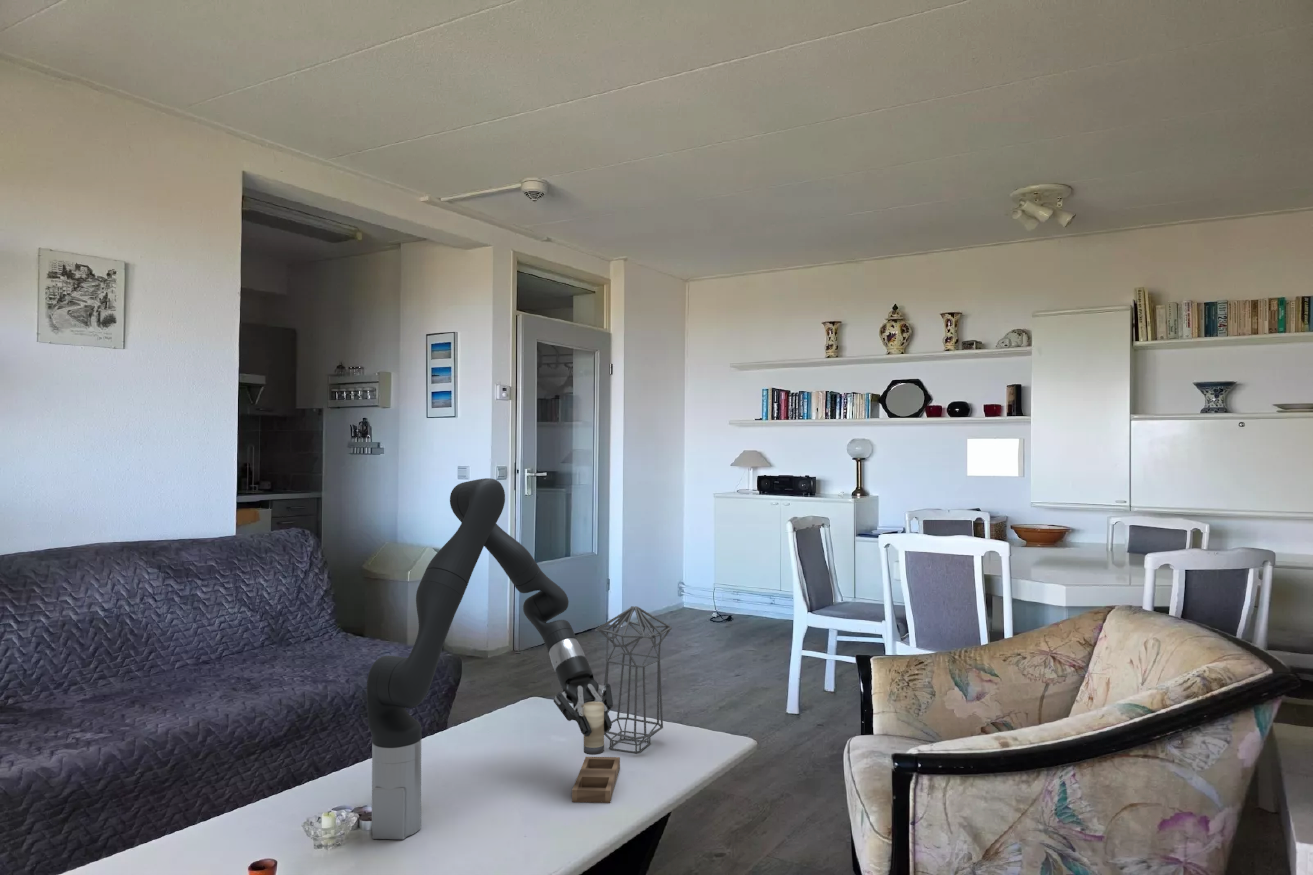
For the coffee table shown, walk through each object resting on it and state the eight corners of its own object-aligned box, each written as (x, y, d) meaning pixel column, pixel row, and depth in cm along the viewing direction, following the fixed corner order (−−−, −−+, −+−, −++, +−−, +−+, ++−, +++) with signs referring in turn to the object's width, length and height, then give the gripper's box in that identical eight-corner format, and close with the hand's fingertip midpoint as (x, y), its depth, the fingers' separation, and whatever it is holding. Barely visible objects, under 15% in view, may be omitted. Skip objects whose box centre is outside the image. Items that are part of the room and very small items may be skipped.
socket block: (610, 802, 179) (610, 790, 179) (572, 802, 179) (572, 790, 179) (619, 768, 199) (619, 757, 199) (585, 767, 199) (585, 756, 199)
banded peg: (602, 755, 181) (602, 707, 182) (582, 754, 182) (582, 707, 182) (605, 747, 186) (605, 701, 186) (585, 747, 186) (585, 701, 186)
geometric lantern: (618, 733, 224) (621, 599, 225) (672, 743, 217) (676, 605, 218) (587, 751, 210) (591, 608, 211) (644, 762, 203) (648, 614, 204)
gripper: (547, 659, 186) (575, 729, 176) (603, 650, 194) (633, 716, 184) (536, 678, 190) (563, 748, 180) (591, 668, 199) (620, 735, 188)
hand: (598, 732), depth 182 cm, fingers closed on banded peg, 4 cm apart
